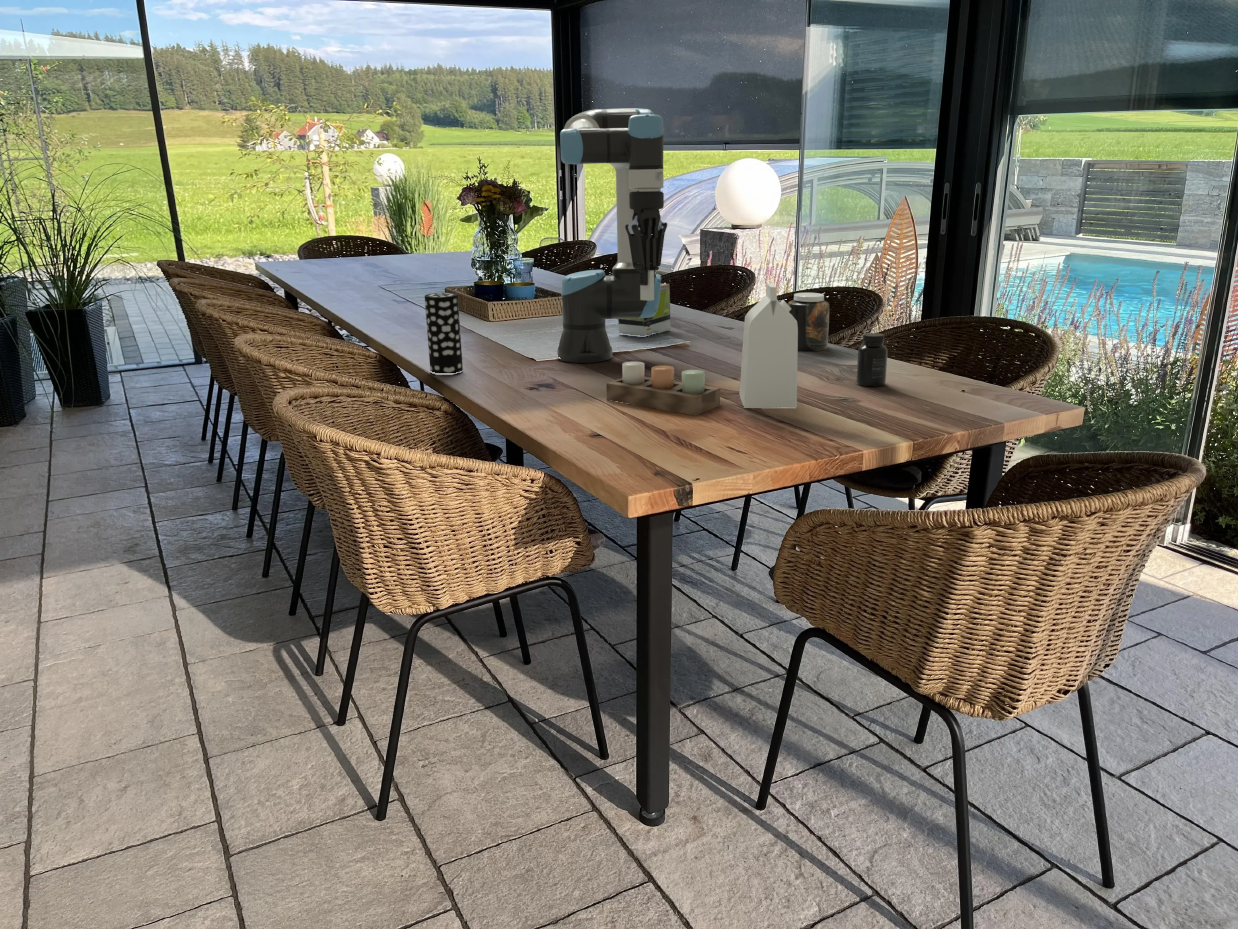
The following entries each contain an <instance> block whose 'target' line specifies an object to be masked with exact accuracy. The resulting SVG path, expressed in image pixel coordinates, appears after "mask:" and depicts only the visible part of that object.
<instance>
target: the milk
mask: <svg viewBox="0 0 1238 929" xmlns="http://www.w3.org/2000/svg"><path fill="white" fill-rule="evenodd" d="M777 288H778V287H777V286H776V284H775V283H773V282H771V283H769V282H767V283H766V292H765V293H766V294H765V296H763V297H762V298H761V299H760V300H759V301H757V303H756V304H755V305H754V306H753V307H751V309H749V310H748V312H747V313H746V314H745V316H744V320H743V321H744V324H743V338H742V349H741V350H742V352H741V364H740V366H741V367H740V381H739V392H738V393H739V394H738V396H739V395H740V396H739V398H740V401H741V404H742V407H743V406H744V407H743V409H744V408H762V409H772V408H771V407H776V408H775V409H781V408H780V407H797V408H798V357H799V356H798V353H799V352H798V326H797V321H796V320H795V318H794V317H793V316H792V315H791V314H790V313H789V311H790V310H791V308H790V307H789V305H788V303H787V302H786V301H785V300H784V299H782V300H781V301H779V300H778V296H777V295H778V293H777V292H778V291H777ZM777 407H779V408H777Z"/></svg>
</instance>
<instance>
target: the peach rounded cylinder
mask: <svg viewBox="0 0 1238 929" xmlns="http://www.w3.org/2000/svg"><path fill="white" fill-rule="evenodd" d="M650 369H651V370H650V371H651V381H652V388H658V389H664V390H667V389H670V388H673V387H674V381H675V368H674V367H673V366H671V365H655V366H652V367H651V368H650Z"/></svg>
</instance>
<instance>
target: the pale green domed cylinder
mask: <svg viewBox="0 0 1238 929" xmlns="http://www.w3.org/2000/svg"><path fill="white" fill-rule="evenodd" d="M705 374H706V373H705V371H704V370H700V369H687V370H682V371H681V382H682V392H683V393H689V394H696V395H698V394H701V393H703V392H704V391H705V386H706V385H705V384H706V383H705V380H706V376H705Z"/></svg>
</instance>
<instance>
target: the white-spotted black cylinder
mask: <svg viewBox="0 0 1238 929" xmlns="http://www.w3.org/2000/svg"><path fill="white" fill-rule="evenodd" d="M424 307H425V309H424V310H425V319H426V332H427V333H426V334H427V343H428V344H427V345H428V358H429V369H430V371H432V372H435V373H456V372H460V371H462V370H463V371H464V368H463V353H462V352H463V350H462V338H461V337H462V336H461V324H460V323H461V322H460V308H459V295H458V293H454V292H434V293H428V294H425V295H424Z"/></svg>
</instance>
